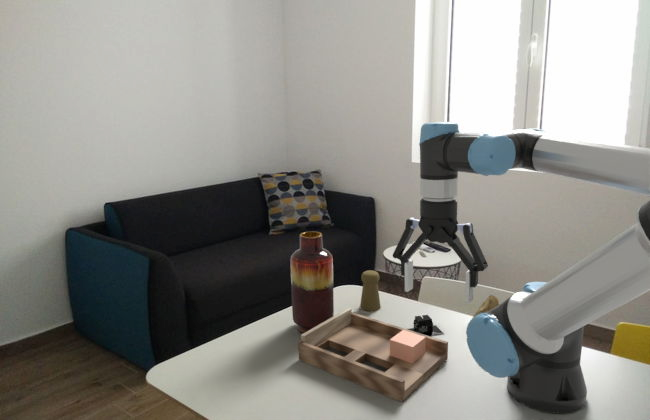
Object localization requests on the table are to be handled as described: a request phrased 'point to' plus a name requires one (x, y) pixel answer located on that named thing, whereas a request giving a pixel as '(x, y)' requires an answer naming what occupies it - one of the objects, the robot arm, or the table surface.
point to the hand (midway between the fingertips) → (438, 295)
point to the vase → (311, 282)
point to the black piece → (425, 326)
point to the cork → (370, 291)
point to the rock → (487, 305)
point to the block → (407, 346)
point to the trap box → (369, 354)
